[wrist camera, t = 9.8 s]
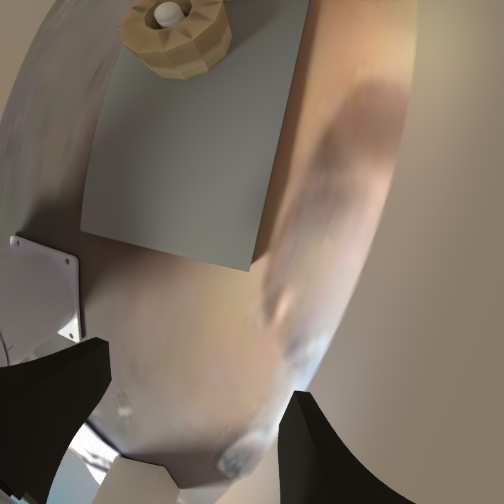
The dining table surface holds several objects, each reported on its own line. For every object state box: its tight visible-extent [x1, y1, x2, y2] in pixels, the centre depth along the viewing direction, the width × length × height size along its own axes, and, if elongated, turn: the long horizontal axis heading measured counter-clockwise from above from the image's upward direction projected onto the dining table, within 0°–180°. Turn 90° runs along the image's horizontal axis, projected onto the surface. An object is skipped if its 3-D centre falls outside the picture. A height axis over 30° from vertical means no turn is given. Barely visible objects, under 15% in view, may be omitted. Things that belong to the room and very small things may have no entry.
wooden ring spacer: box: [119, 0, 232, 80], centre depth 11 cm, size 6×6×4 cm
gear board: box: [80, 0, 310, 272], centre depth 12 cm, size 12×26×6 cm, turn 168°
